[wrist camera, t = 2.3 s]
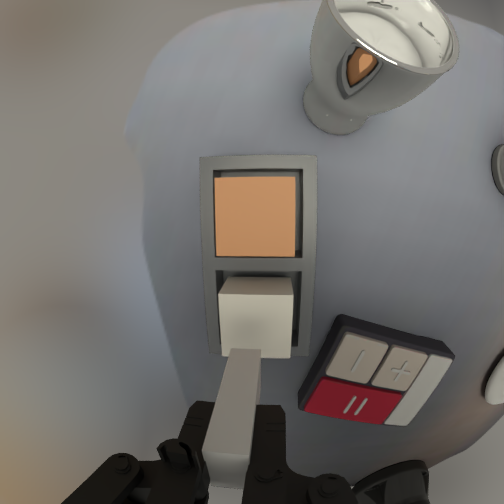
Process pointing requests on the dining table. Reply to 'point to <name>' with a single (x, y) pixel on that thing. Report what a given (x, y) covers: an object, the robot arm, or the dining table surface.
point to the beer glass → (374, 58)
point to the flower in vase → (496, 385)
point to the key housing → (262, 266)
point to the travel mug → (498, 167)
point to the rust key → (255, 216)
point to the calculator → (373, 373)
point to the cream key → (257, 315)
